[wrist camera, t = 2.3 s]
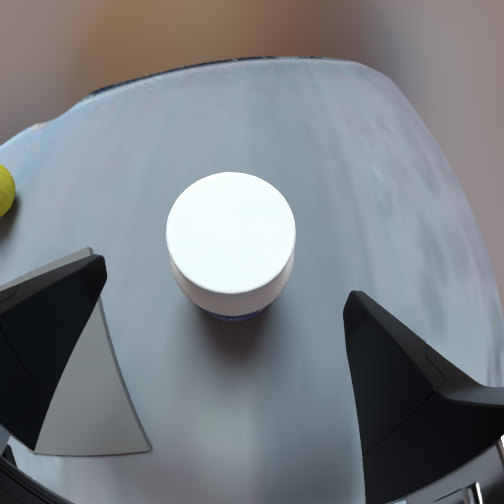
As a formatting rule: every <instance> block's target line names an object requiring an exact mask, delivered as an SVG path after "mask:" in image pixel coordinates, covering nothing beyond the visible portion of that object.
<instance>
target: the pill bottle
mask: <svg viewBox="0 0 504 504" xmlns="http://www.w3.org/2000/svg"><path fill="white" fill-rule="evenodd" d="M295 239H296V228H295V221H294V217H293V214H292V211H291V209H290V207H289V205H288V203H287V202H286V200H285V199H284V197H283V196H282V195H281V194H280V193H279V192H278V191H277V190H276V189H275V188H274V187H273V186H272V185H270V184H269V183H267V182H265V181H264V180H262V179H260V178H257V177H255V176H252V175H248V174H244V173H232V172H228V173H219V174H214V175H211V176H208V177H205V178H203V179H201V180H199V181H197V182H195V183H194V184H192V185H191V186H190V187H188V188H187V189H186V190H185V191H184V192H183V193H182V194H181V195H180V196H179V198H178V199H177V200H176V202H175V203H174V205H173V207H172V209H171V212H170V214H169V217H168V220H167V226H166V242H167V247H168V251H169V254H170V262H171V268H172V272H173V275H174V277H175V280H176V282H177V284H178V286H179V287H180V289H181V290H182V292H183V293H184V294H185V295H186V296H187V297H188V299H190V300H191V301H192V302H193V303H194V304H195V305H197V306H198V307H200V308H201V309H202V310H204V311H205V312H206V313H208V314H209V315H211V316H213V317H215V318H217V319H220V320H223V321H229V322H238V321H243V320H247V319H249V318H252V317H254V316H255V315H257V314H258V313H260V312H261V311H262V310H263V309H264V308H265V307H267V306H268V305H269V304H270V303H271V302H273V301H274V300H275V299H276V298H277V297H278V296H279V294H280V293H281V292H282V291H283V289H284V288H285V286H286V284H287V282H288V280H289V278H290V275H291V273H292V269H293V264H294V245H295Z"/></svg>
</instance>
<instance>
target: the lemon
mask: <svg viewBox="0 0 504 504" xmlns="http://www.w3.org/2000/svg"><path fill="white" fill-rule="evenodd" d="M14 197H15V182H14V179H13V177H12V176H11V174H10V172H9V171H8V170H7V169H6V168H5V167H4V166H3V165H1V164H0V217H1V216H3V215H4V214H5V213H6V212H7V211H8V209H10V208H11V207H12V202H13V200H14Z"/></svg>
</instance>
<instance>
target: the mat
mask: <svg viewBox="0 0 504 504" xmlns="http://www.w3.org/2000/svg"><path fill="white" fill-rule="evenodd" d="M90 255H93V251H92V248H90V247H87V248H84V249H82V250H79V251H77V252H74V253H72V254H70V255H67V256H65V257H63V258H60V259H58V260H56V261H53V262H51V263H49V264H47V265H44V266H42V267H40V268H38V269H35V270H33V271H31V272H29V273H27V274H25V275H23V276H20V277H18V278H16V279H14V280H12V281H10V282H8V283H6V284H4V285H2V286H0V291H2V290H5V289H7V288H9V287H12V286H14V285H16V284H19V283H20V284H21V282H24V281H26V280H28V279H31V278H33V277H36V276H38V275H41V274H43V273H46V272H48V271H51V270H53V269H56V268H58V267H61V266H63V265H66V264H69V263H71V262H74V261H76V260H79V259H82V258H85V257H87V256H90ZM151 448H152V447H151V445H150V443H149V440H148V438H147V436H146V434H145V432H144V430H143V427H142V425H141V423H140V421H139V418H138V416H137V414H136V411H135V409H134V406H133V404H132V401H131V399H130V396H129V394H128V391H127V388H126V385H125V383H124V380H123V377H122V374H121V371H120V368H119V365H118V362H117V359H116V355H115V352H114V349H113V345H112V342H111V338H110V335H109V331H108V327H107V323H106V319H105V315H104V311H103V306H102V302H101V297H100V296H99V299H98V301H97V303H96V306H95V308H94V310H93V313H92V314H91V316H90V318H89V320H88V322H87V324H86V326H85V328H84V330H83V332H82V334H81V336H80V338H79V340H78V342H77V344H76V346H75V348H74V350H73V352H72V354H71V356H70V358H69V361H68V363H67V365H66V367H65V369H64V372H63V374H62V376H61V379H60V381H59V383H58V386H57V388H56V391H55V393H54V396H53V398H52V401H51V403H50V406H49V409H48V412H47V414H46V417H45V420H44V423H43V426H42V429H41V432H40V435H39V438H38V441H37V445H36V448H35V450H34V452H33V451H32V450H30V449H29V448H28V450H29V452H30V453H38V454H50V455H109V454H122V453H133V452H141V451H149V450H150V449H151Z"/></svg>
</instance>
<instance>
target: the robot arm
mask: <svg viewBox="0 0 504 504" xmlns="http://www.w3.org/2000/svg"><path fill="white" fill-rule="evenodd" d="M106 280H107V271H106V265H105V259H104V257H103V256H102V255H96V254H93V255H90V256H87V257H85V258H82V259H79V260H76V261H74V262H71V263H69V264H66V265H63V266H61V267H58V268H56V269H53V270H51V271H48V272H46V273H43V274H41V275H38V276H36V277H33V278H31V279H28V280H26V281H24V282H21V284H20V283H19V284H16V285H14V286H12V287H9V288H7V289H5V290H2V291H0V504H74V503H72V502H70V501H68V500H67V499H65V498H63V497H61V496H59V495H58V494H56V493H54V492H52V491H51V490H49V489H48V488H46V487H44V486H43V485H41V484H40V483H38V482H36V481H35V480H33V479H32V478H31V477H29V476H28V475H26V474H25V473H23V472H22V471H21V470H19V469H18V468H17V466H16V462H15V459H14V456H13V453H12V449H11V446H9V445H8V444H7V443H8V440H9V438H10V436H12V437H13V438H14V439H16V440H17V441H19V442H20V443H21V444H23V445H24V446H26V447H27V448H29V449H30V450H32V451H33V452H34V450H35V448H36V445H37V441H38V438H39V435H40V432H41V429H42V426H43V423H44V420H45V417H46V414H47V412H48V409H49V406H50V403H51V401H52V398H53V396H54V393H55V391H56V388H57V386H58V383H59V381H60V379H61V376H62V374H63V372H64V369H65V367H66V365H67V363H68V361H69V358H70V356H71V354H72V352H73V350H74V348H75V346H76V344H77V342H78V340H79V338H80V336H81V334H82V332H83V330H84V328H85V326H86V324H87V322H88V320H89V318H90V316H91V314H92V313H93V310H94V308H95V306H96V303H97V301H98V299H99V296H100V294H101V292H102V289H103V287H104V285H105V283H106ZM343 320H344V331H345V343H346V352H347V357H348V363H349V368H350V373H351V379H352V385H353V391H354V397H355V403H356V410H357V417H358V424H359V432H360V440H361V449H362V456H363V457H362V460H363V470H364V483H365V498H366V504H394V503H397V502H400V501H404V500H406V504H504V387H487V386H484V385H481V384H479V383H478V382H476V381H475V380H473V379H472V378H471V377H469V376H468V375H467V374H465V373H464V372H463V371H461V370H460V369H459V368H457V367H456V366H455V365H453V364H452V363H451V362H449V361H448V360H447V359H445V358H444V357H443V356H442V355H440V354H439V353H438V352H437V351H436V350H434V349H433V348H432V347H431V346H430V345H428V344H426V342H425V341H424V340H422V339H421V338H420V337H419V336H417V335H416V334H415V333H414V332H413V331H411V330H410V329H409V328H408V327H407V326H405V325H404V324H403V323H402V322H400V321H399V320H398V319H397V318H395V317H394V316H393V315H392V314H390V313H389V312H388V311H387V310H385V309H384V308H383V307H382V306H380V305H379V304H378V303H377V302H375V301H374V300H373V299H371V298H370V297H369V296H368V295H366V294H365V293H364V292H362V291H355V290H353V291H351V292H350V294H349V296H348V299H347V302H346V304H345V307H344V310H343Z"/></svg>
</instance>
